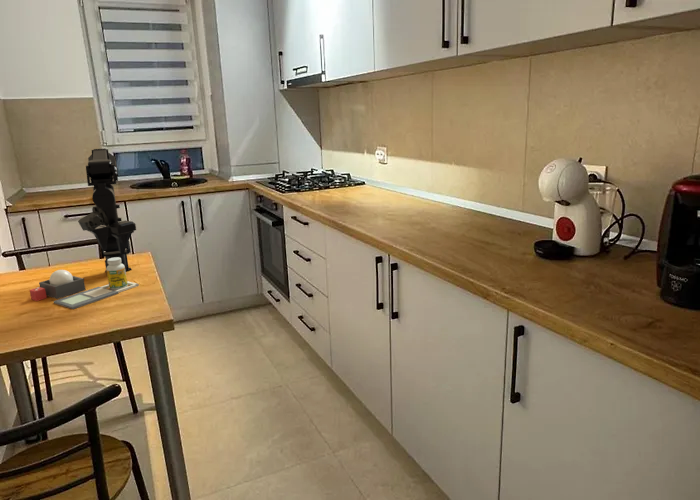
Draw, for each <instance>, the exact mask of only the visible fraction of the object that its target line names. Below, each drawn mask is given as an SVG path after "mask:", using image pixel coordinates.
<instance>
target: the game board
mask: <svg viewBox="0 0 700 500" xmlns="http://www.w3.org/2000/svg"><path fill="white" fill-rule="evenodd" d="M127 284H128V286H127V287H125V288H122V289H119V290H111V289H110V288H109V283H108V284H106V285H105V284H104V285H102V286H97V287H94V288H91V289H87V290H84V291H81V292H78V293H75V294H71V295H68V296H65V297H62V298H59V299H56V300H53V304H55V305H58V306H61V307H65V308H69V309H71V310H75V309H78V308H80V307H84V306H87V305H89V304H92V303H95V302H98V301H101V300H103V299H107V298H110V297H113V296H116V295H118V294H119V293H121V292H125V291H127V290H130V289H134V288H136V287H139V286H140V284H139V283H136V282H133V281H129V280H127Z"/></svg>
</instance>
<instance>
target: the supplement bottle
mask: <svg viewBox="0 0 700 500" xmlns="http://www.w3.org/2000/svg"><path fill="white" fill-rule="evenodd" d="M121 262H122V261H121V258H120V257H114V258H109V259H108V260H107V263H108V264H109V265H108V266H107V268H106V267H105V270H107V272H106V276H107V282H108V284H109V287H108V289H110V290H114V291H116V290H119V289H122V288H125V287H128V286H129V285H128V284H127V281H128V280H127V279H128V278H127V271H125V266H124V265H123V264H122V263H121Z"/></svg>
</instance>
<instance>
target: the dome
mask: <svg viewBox="0 0 700 500" xmlns="http://www.w3.org/2000/svg"><path fill="white" fill-rule="evenodd" d="M72 276H73V274H72V273H71V272H70V271H68V270H66V269H57V270H55V271H53V272H52V273H51V275H50V277H49V279H48V280H49V281H50V284H51V285H54V286H58V285H61V284H65V283H68V282H71V281H74V280H73V277H72Z"/></svg>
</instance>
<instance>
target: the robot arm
mask: <svg viewBox="0 0 700 500" xmlns="http://www.w3.org/2000/svg"><path fill="white" fill-rule="evenodd" d="M87 160H88V161H87V165H85V171H86V179H87V180H86V181H87V186H88V187H92V192H93V193H92V197H91V198H92V201H93V204H94V206H92V208H91V210H92V211H91V213H88V214H86V215H85V216H83V217H81V218H80V219H79V220H77V222H78V223H79V226H80V228H81V229H82V231H87V232H90V233H91V234H93V236H94V237H95V240H97V243H98V245H99V247H100V250H101V255H102V258H105V260H104V264H105V270H104V272H105V273H107V270H106V268H107V266H108V265H109V264H108V263H107V260H108V259H109V258H114V257H120V258H121V261H122V262H121V263H122V264H123V265H124V266H125V272H128V271H130V270H131V271H132V267H129V261H128V255H129V254H131V245H130V244H131V243H130V239H131V236H132V234H134V233H135V231H137V224H136V223H135V222H133V221H130V220H122V217H119V213H118V209H120V208H121V207H120V204H117V201H116V194H115V187H114V185H117V182H118V181H119V178H118V177H119V176H118V168H117V161H116V156H115V155H113V154H112V153H110V152H109V149H108V148H93V149H91V155H89V156H88V158H87Z"/></svg>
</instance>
